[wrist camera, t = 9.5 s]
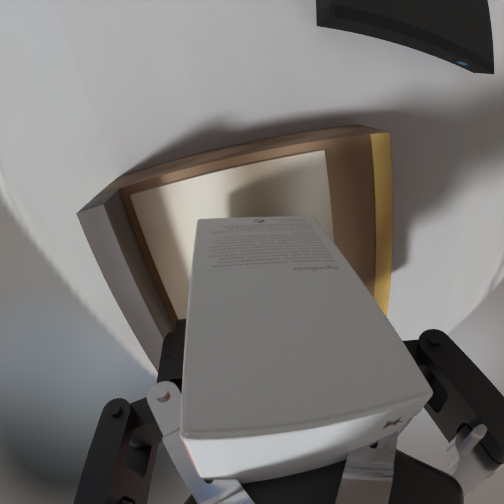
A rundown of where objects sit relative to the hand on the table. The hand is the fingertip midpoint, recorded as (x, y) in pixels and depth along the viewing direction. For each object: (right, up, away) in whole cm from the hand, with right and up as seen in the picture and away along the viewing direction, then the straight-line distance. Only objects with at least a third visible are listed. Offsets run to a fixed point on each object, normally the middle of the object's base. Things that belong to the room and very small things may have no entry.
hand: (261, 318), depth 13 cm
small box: (0, +1, +2) cm, 3 cm away
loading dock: (0, +4, +7) cm, 8 cm away
